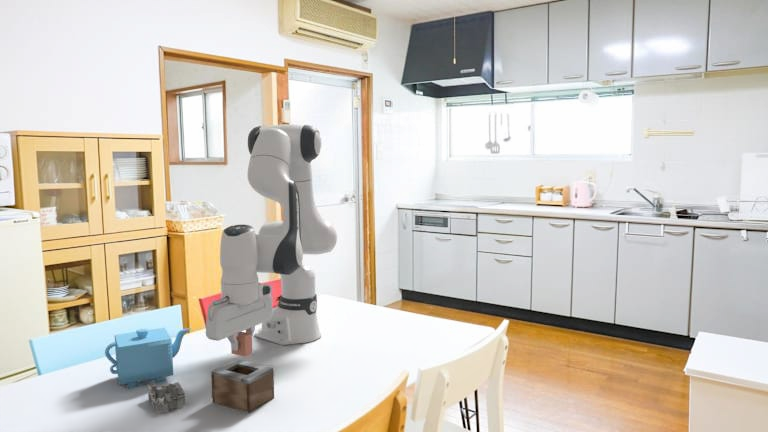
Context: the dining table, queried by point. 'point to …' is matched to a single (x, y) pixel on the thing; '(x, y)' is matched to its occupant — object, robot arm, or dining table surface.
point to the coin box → (242, 385)
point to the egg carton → (167, 397)
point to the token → (244, 344)
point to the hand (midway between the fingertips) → (241, 347)
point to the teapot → (144, 355)
